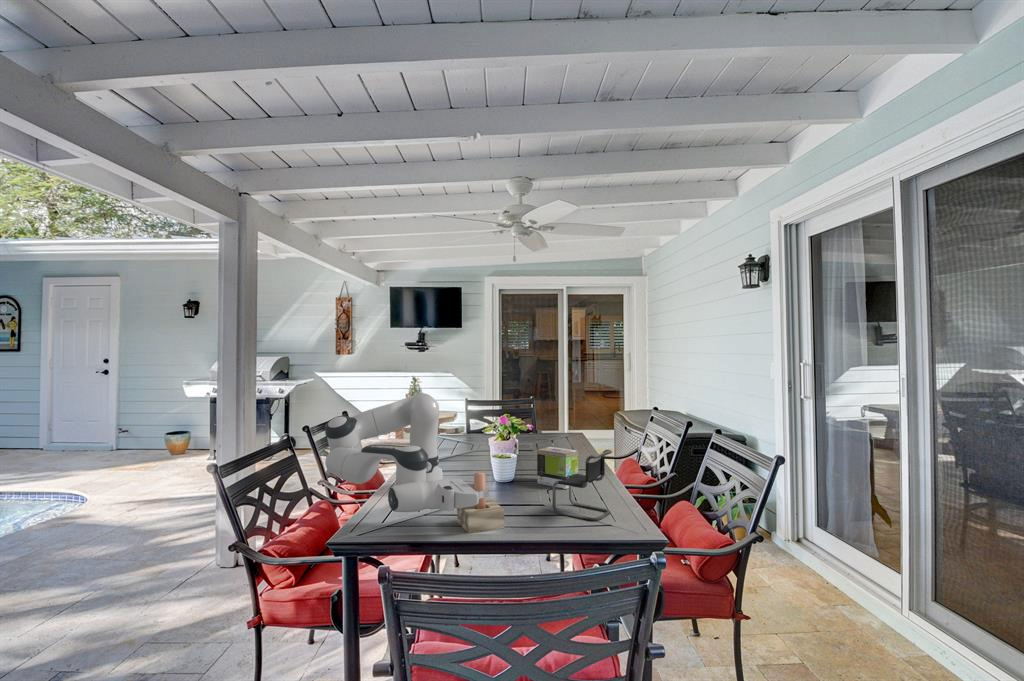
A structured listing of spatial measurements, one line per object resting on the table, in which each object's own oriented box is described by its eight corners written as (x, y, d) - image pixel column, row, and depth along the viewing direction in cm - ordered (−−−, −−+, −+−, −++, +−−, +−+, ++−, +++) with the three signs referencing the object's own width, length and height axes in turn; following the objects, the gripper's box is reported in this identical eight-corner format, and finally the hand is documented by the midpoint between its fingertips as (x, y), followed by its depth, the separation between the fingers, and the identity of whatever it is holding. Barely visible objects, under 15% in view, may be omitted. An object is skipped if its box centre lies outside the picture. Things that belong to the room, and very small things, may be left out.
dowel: (473, 518, 169) (472, 473, 169) (483, 517, 171) (483, 472, 170) (476, 522, 166) (476, 475, 166) (487, 520, 167) (486, 474, 167)
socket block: (457, 521, 172) (457, 503, 172) (491, 517, 176) (491, 499, 176) (468, 533, 160) (468, 514, 161) (504, 528, 165) (504, 509, 165)
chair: (596, 522, 170) (596, 455, 171) (551, 513, 181) (551, 449, 181) (613, 512, 181) (613, 449, 181) (570, 504, 191) (570, 444, 191)
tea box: (579, 485, 218) (579, 449, 218) (565, 490, 210) (565, 453, 210) (550, 479, 228) (550, 445, 228) (536, 483, 220) (536, 448, 220)
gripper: (433, 495, 173) (472, 490, 178) (450, 513, 154) (493, 507, 160) (433, 476, 173) (472, 472, 178) (450, 491, 154) (493, 487, 160)
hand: (482, 489), depth 169 cm, fingers open, 8 cm apart
